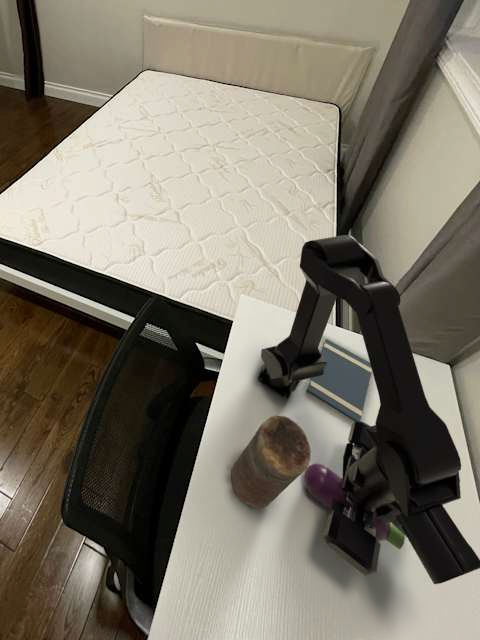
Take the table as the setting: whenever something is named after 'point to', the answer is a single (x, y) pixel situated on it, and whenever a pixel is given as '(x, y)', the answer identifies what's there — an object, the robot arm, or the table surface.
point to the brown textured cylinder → (270, 461)
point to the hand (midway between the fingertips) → (342, 502)
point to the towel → (342, 380)
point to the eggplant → (344, 500)
